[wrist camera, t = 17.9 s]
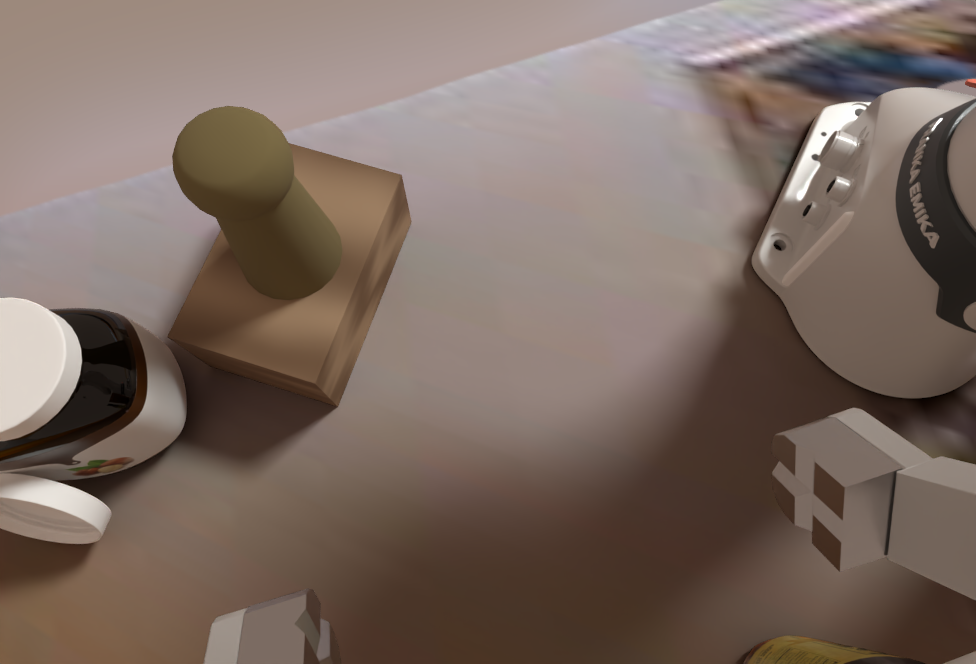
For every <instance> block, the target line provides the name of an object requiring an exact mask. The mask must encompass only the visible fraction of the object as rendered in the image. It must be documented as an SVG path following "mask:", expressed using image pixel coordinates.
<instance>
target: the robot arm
mask: <svg viewBox="0 0 976 664" xmlns="http://www.w3.org/2000/svg"><path fill="white" fill-rule="evenodd" d="M965 85H967V86H969V87H974V88H976V79H968V80H967V81H966V82H965ZM856 115H857V116H858V117H857V116H856ZM774 244H777V245H779V246H780V247H781V250H782V251H779V250H777V249H775V247H774ZM752 266H753V268H754V270H755V272H756V273H757V274H758V276H759V277H760V278H761V279H762V280H763V281H764V282H765V283H766V284H767V285H768V286H769V287H770V288H771V289H772V290H773V291H774V292H775V293H776V294H777V295H778V296H779V297H780V298H781V300H782V301H783V303H784V305H785V306H786V308H787V311H788V313H789V315H790V317H791V319H792V321H793V323H794V325H795V327H796V329H797V331H798V332H799V334H800V336H801V337H802V339H803V340H804V341H805V343H806V344H807V345H808V347H809V348H810V349H811V350H812V351H813V352H814V354H815V355H816V356H817V357H818V358H819V359H820V360H821V361H823V362H824V363H825V364H826V365H827V366H828V367H830V368H831V369H832V370H833V371H835V372H836V373H837V374H839V375H840V376H842V377H844V378H845V379H847V380H849V381H850V382H852V383H854V384H856V385H858V386H860V387H862V388H865V389H868V390H870V391H873V392H876V393H879V394H883V395H887V396H893V397H900V398H926V397H932V396H937V395H941V394H944V393H947V392H950V391H952V390H954V389H956V388H958V387H960V386H962V385H963V384H965V383H966V382H968V381H969V380H970V379H972V378H973V377H974V376H975V375H976V97H974V96H971V95H966V94H962V93H958V92H953V91H947V90H942V89H934V88H919V87H912V88H902V89H896V90H892V91H889V92H887V93H884V94H882V95H880V96H879V97H877V98H876V99H875V100H874V101H873V102H849V103H841V104H836V105H831V106H828V107H825V108H824V109H823V110H822V111H821V112H820V113H819V114H818V115H817V116H816V118H815V119H814V121H813V123H812V125H811V127H810V129H809V131H808V134H807V136H806V138H805V140H804V142H803V145H802V147H801V149H800V151H799V154H798V156H797V158H796V160H795V162H794V165H793V167H792V169H791V171H790V173H789V176H788V178H787V180H786V182H785V184H784V187H783V189H782V191H781V193H780V195H779V198H778V200H777V202H776V204H775V206H774V209H773V211H772V213H771V215H770V218H769V220H768V222H767V224H766V226H765V229H764V231H763V233H762V235H761V237H760V240H759V242H758V244H757V246H756V248H755V251H754V253H753V256H752ZM771 454H772V455H774V456H775V457H776V458H777V459H778V460H779V462H778V464H777V466H776V467H775V469H774V470H773V472H772V489H773V492H774V494H775V497H776V500H777V502H778V504H779V506H780V507H781V509H782V511H783V512H784V514H785V515H786V516H787V517H788V518H789V519H790V520H791V522H792V523H793V524H794V525H796V526H799V527H801V528H804V529H807V530H809V531H812V544H813V545H814V546H815V547H816V548H817V549H818V550H819V551H820V552H821V553H822V554H823V555H824V556H825V557H826V558H827V559H828V560H829V561H830V562H831V563H832V564H833V565H834V567H835V568H836V569H837V570H838V571H839V572H842V571H845V570H848V569H851V568H854V567H857V566H860V565H863V564H866V563H869V562H872V561H875V560H879V559H882V558H885V557H888V558H887V559H888V560H890V561H892V562H894V563H896V564H898V565H901V566H903V567H905V568H907V569H909V570H911V571H913V572H916V573H918V574H920V575H922V576H924V577H926V578H928V579H931V580H933V581H935V582H937V583H939V584H941V585H943V586H946V587H948V588H950V589H952V590H954V591H956V592H958V593H961V594H963V595H965V596H967V597H969V598H971V599H973V600H976V465H975V464H971V463H967V462H962V461H958V460H954V459H950V458H946V457H942V456H941V457H938V458H935V459H933V458H931V457H930V456H928V455H927V454H926V453H924V452H923V451H921V450H920V449H918V448H917V447H915V446H914V445H913V444H911V443H910V442H908V441H907V440H905V439H904V438H903V437H901V436H900V435H898V434H897V433H895V432H894V431H892V430H891V429H890V428H888V427H887V426H885V425H884V424H882V423H881V422H879V421H878V420H877V419H875V418H874V417H872V416H871V415H869V414H868V413H866V412H865V411H864V410H862V409H858V408H851V409H848V410H845V411H842V412H839V413H836V414H833V415H830V416H828V417H827V418H822V419H819V420H816V421H813V422H811V423H808V424H805V425H802V426H799V427H796V428H793V429H790V430H787V431H784V432H781V433H778V434H775V436H774V438H773V440H772V449H771ZM203 664H341V658H340V652H339V646H338V643H337V640H336V637H335V634H334V631H333V629H332V627H331V625H330V622H328V621H325V620H323V619H321V618H320V602H319V600H318V598H317V596H316V594H315V592H314V590H313V589H305V590H302V591H299V592H295V593H292V594H289V595H286V596H282V597H279V598H276V599H272V600H269V601H266V602H262V603H259V604H256V605H253V606H249V607H248V608H246V609H242V610H239V611H235V612H232V613H229V614H225V615H222V616H218V617H216V619H215V620H214V622H213V624H212V625H211V628H210V633H209V638H208V643H207V648H206V653H205V658H204V663H203ZM943 664H976V651H975V652H972V653H969V654H967V655H964V656H962V657H959V658H956V659H954V660H951V661H949V662H946V663H943Z"/></svg>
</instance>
